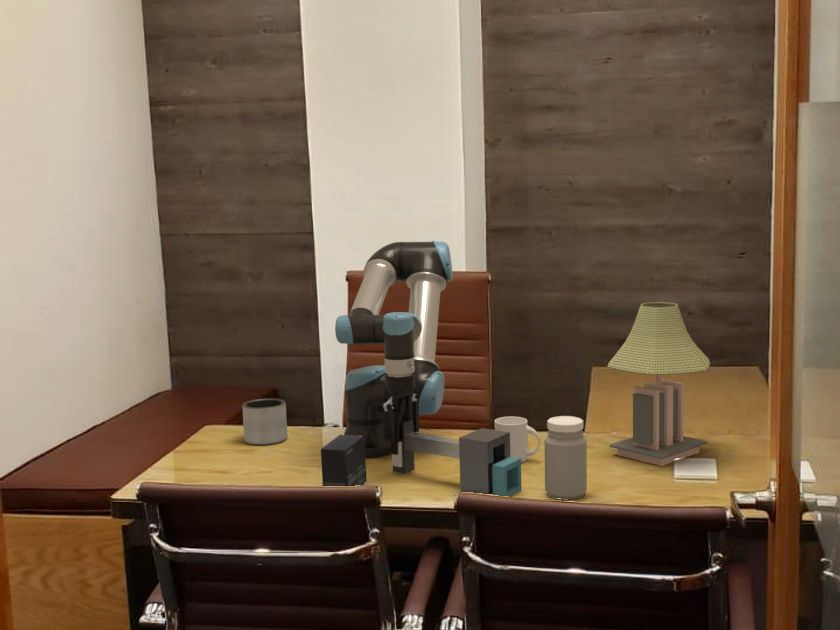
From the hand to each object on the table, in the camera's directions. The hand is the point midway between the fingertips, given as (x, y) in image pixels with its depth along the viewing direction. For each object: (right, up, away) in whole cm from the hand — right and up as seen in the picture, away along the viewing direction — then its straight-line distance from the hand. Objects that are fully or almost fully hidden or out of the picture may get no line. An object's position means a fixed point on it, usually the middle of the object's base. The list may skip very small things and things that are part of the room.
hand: (403, 463), depth 262 cm
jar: (+39, -5, -19) cm, 44 cm away
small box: (-14, -5, -10) cm, 18 cm away
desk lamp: (+68, +1, +11) cm, 69 cm away
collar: (+25, -1, -18) cm, 31 cm away
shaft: (+10, -3, -7) cm, 12 cm away
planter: (-40, +1, +36) cm, 54 cm away
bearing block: (+20, -4, -14) cm, 25 cm away
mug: (+30, -1, +9) cm, 32 cm away
